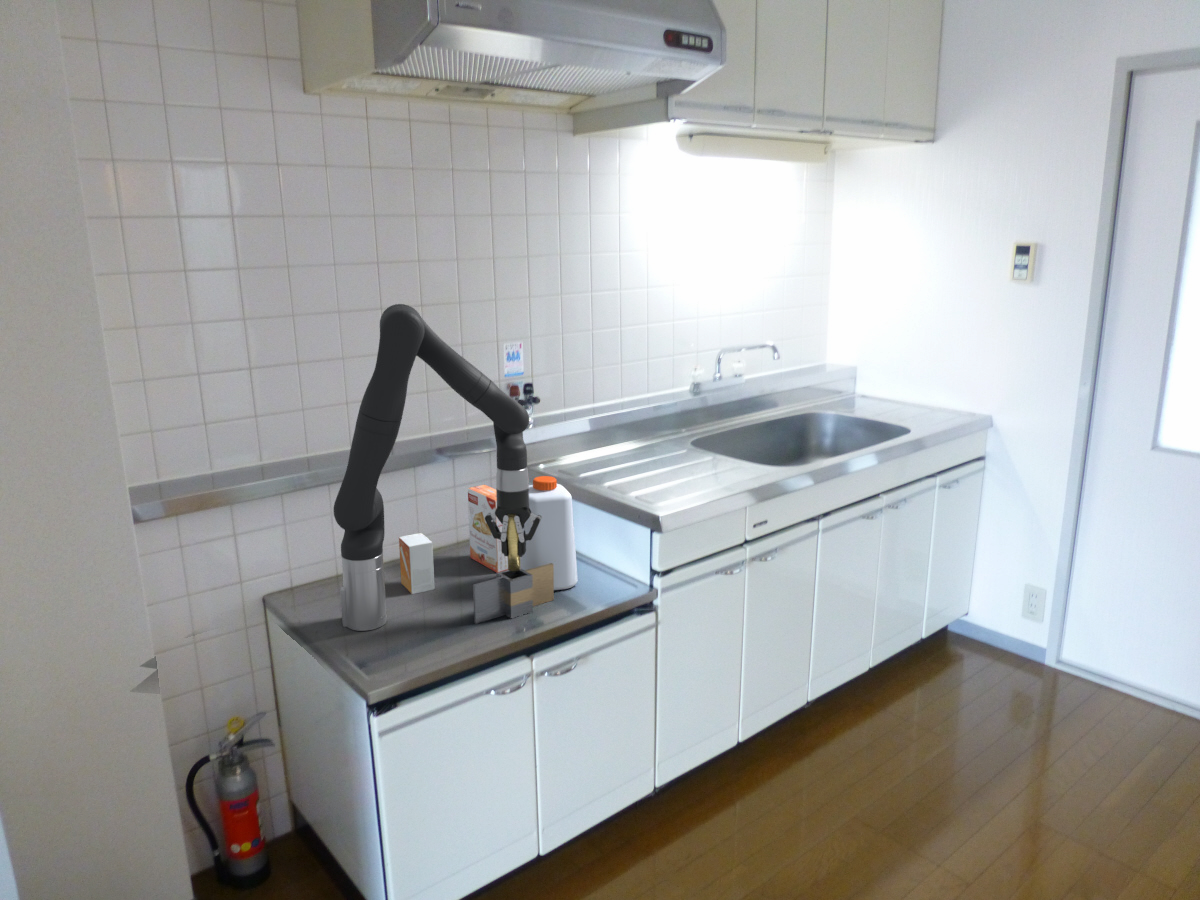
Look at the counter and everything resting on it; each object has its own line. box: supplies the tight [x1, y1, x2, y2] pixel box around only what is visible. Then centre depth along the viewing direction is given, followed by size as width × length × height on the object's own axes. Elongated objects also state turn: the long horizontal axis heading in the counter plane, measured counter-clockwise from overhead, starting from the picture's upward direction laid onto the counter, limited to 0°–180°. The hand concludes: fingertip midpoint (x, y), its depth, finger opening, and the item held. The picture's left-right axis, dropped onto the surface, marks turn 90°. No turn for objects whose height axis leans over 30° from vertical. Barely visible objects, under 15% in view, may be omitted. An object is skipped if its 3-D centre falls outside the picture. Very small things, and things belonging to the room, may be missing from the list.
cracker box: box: [467, 484, 508, 574], centre depth 237 cm, size 14×6×21 cm, turn 39°
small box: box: [398, 532, 435, 595], centre depth 222 cm, size 8×6×13 cm
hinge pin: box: [507, 514, 521, 571], centre depth 206 cm, size 3×3×14 cm
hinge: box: [472, 563, 555, 625], centre depth 209 cm, size 22×6×10 cm, turn 128°
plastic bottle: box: [520, 475, 579, 591], centre depth 224 cm, size 15×15×28 cm
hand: (514, 555), depth 206 cm, fingers closed on hinge pin, 3 cm apart
